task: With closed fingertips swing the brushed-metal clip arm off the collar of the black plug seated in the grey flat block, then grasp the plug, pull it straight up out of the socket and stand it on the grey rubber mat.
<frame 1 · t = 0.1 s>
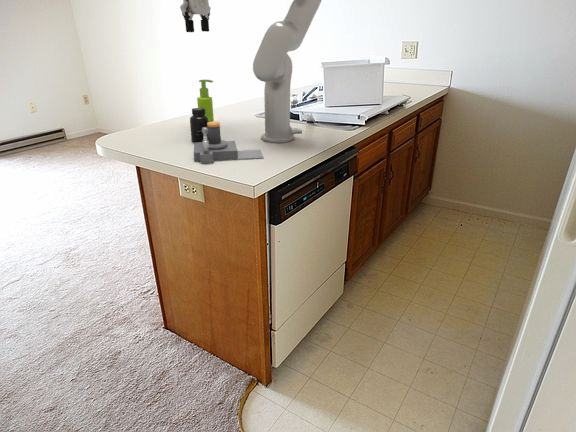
hand: (198, 31, 155), 37 cm above the worktop, tool pointing down, fingers open, 9 cm apart
grey flat block: (215, 155, 141), on the worktop
mat: (248, 155, 141), on the worktop
supplement bottle: (200, 141, 157), on the worktop
plug: (214, 139, 138), in the grey flat block
clip: (205, 139, 136), point 6 cm above the worktop, hinge at 0.0°
soap dispenser: (208, 130, 172), on the worktop
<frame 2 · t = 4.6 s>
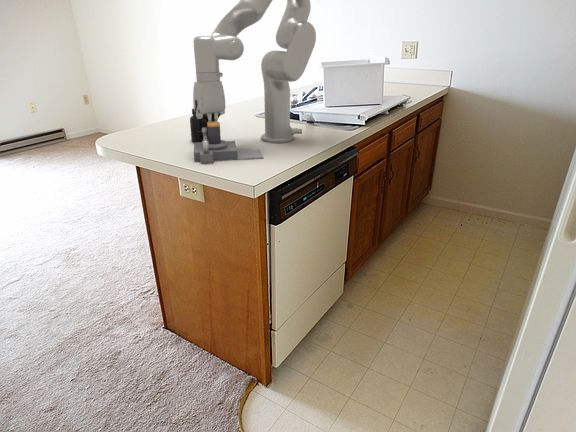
hand: (212, 132, 143), 6 cm above the worktop, tool pointing down, fingers closed
clip: (205, 139, 136), point 6 cm above the worktop, hinge at 0.2°, touching gripper
everything else where it was.
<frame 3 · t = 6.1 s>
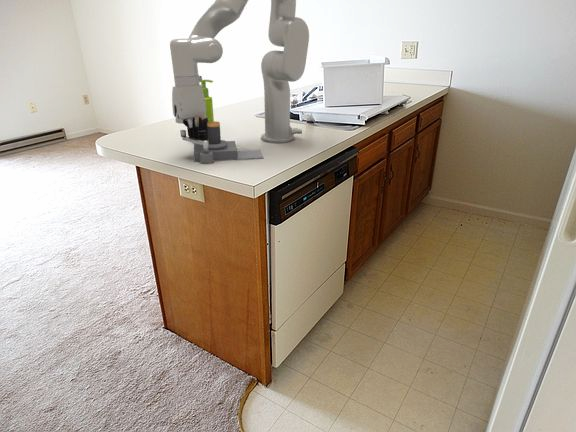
hand: (193, 138, 139), 6 cm above the worktop, tool pointing down, fingers closed
clip: (194, 141, 135), point 6 cm above the worktop, hinge at 40.1°, touching gripper
everything else where it was.
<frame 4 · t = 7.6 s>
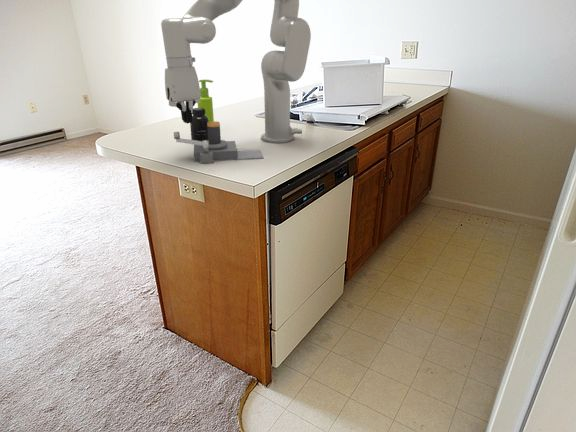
hand: (187, 122, 135), 11 cm above the worktop, tool pointing down, fingers closed
clip: (191, 142, 134), point 6 cm above the worktop, hinge at 55.2°
everything else where it was.
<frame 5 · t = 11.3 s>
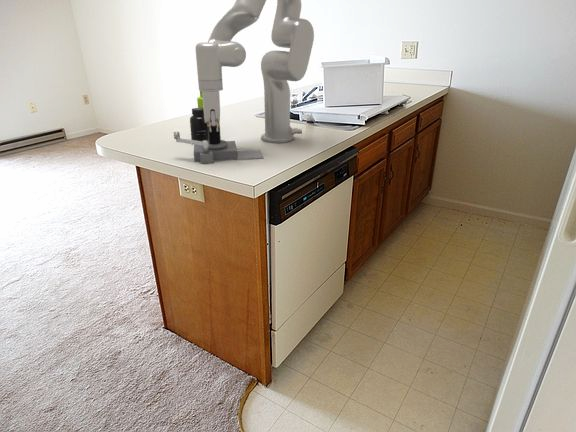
hand: (214, 141, 139), 5 cm above the worktop, tool pointing down, fingers closed on plug, 4 cm apart
plug: (214, 139, 138), in the grey flat block, touching gripper
everything else where it was.
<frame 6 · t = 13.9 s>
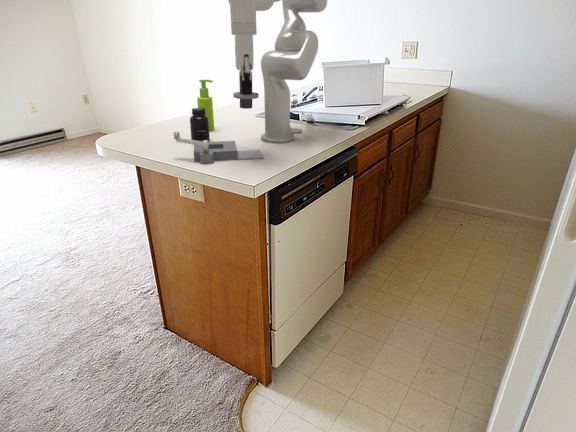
hand: (246, 91, 132), 21 cm above the worktop, tool pointing down, fingers closed on plug, 4 cm apart
plug: (245, 89, 132), point 22 cm above the worktop, touching gripper
everything else where it was.
when the fingers open (7 cm above the worktop, at t = 16.8 s): plug drops 1 cm, resting on mat.
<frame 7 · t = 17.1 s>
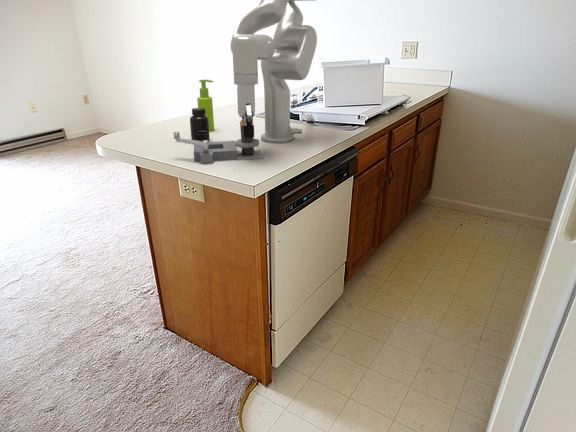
hand: (247, 134, 138), 7 cm above the worktop, tool pointing down, fingers open, 7 cm apart
plug: (247, 138, 138), on the mat
everything else where it was.
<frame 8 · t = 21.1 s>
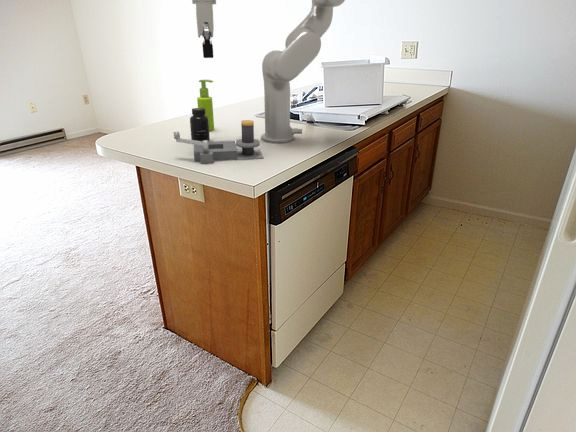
hand: (208, 56, 139), 30 cm above the worktop, tool pointing down, fingers open, 9 cm apart
nothing on the worktop moved.
at the end: clip at +55° (first picture: +0°); plug inside the target area on the mat (0.2 cm from its centre), point 5.9 cm above the mat's base; plug tilted 1° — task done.
